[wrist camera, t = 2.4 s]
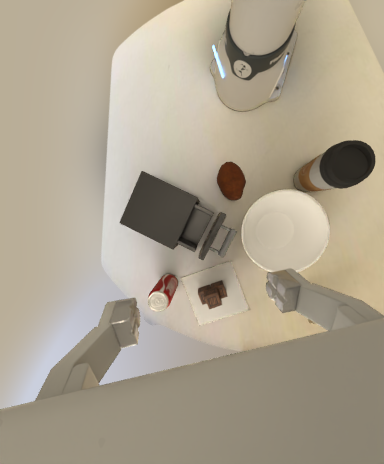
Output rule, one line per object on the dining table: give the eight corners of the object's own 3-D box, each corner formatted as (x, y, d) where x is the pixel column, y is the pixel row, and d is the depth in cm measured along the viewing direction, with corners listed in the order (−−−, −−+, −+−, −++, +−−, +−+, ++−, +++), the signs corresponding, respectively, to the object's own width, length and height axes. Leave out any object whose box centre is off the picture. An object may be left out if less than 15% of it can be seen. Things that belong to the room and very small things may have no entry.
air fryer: (199, 201, 49) (198, 197, 39) (179, 243, 50) (173, 249, 41) (154, 179, 49) (141, 170, 40) (136, 221, 51) (119, 222, 41)
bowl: (295, 276, 48) (309, 286, 42) (226, 252, 49) (229, 257, 43) (324, 206, 46) (344, 205, 39) (251, 183, 47) (258, 177, 40)
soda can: (160, 273, 51) (145, 290, 40) (178, 273, 51) (169, 291, 39) (160, 290, 52) (146, 312, 40) (178, 291, 52) (169, 314, 40)
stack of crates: (199, 325, 52) (198, 342, 45) (180, 278, 51) (176, 287, 44) (249, 310, 50) (256, 324, 43) (230, 260, 49) (234, 267, 43)
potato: (216, 201, 48) (217, 199, 42) (216, 166, 48) (217, 158, 41) (242, 201, 48) (248, 198, 41) (243, 165, 47) (248, 157, 41)
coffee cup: (301, 156, 46) (346, 127, 31) (329, 173, 45) (389, 152, 31) (282, 185, 47) (317, 171, 32) (310, 202, 46) (358, 195, 32)
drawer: (237, 222, 47) (243, 223, 40) (218, 260, 49) (220, 268, 41) (180, 194, 48) (175, 190, 40) (162, 233, 49) (154, 236, 42)
